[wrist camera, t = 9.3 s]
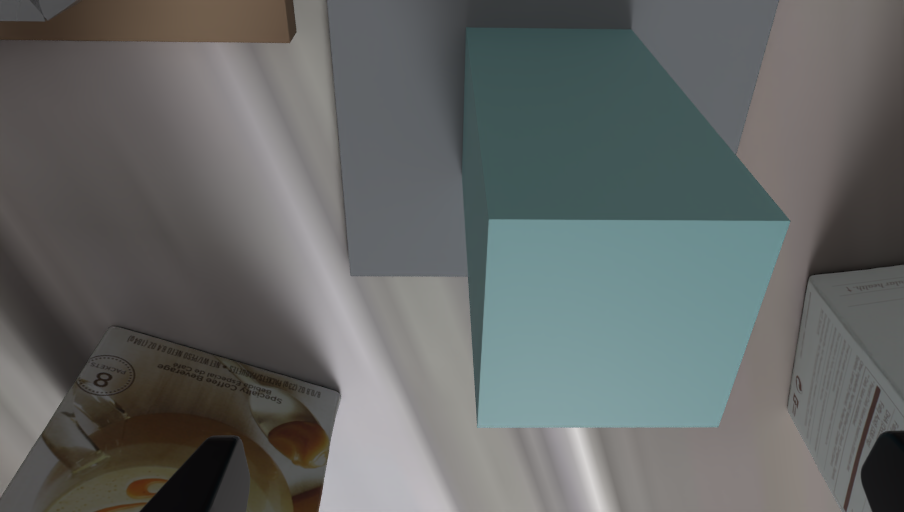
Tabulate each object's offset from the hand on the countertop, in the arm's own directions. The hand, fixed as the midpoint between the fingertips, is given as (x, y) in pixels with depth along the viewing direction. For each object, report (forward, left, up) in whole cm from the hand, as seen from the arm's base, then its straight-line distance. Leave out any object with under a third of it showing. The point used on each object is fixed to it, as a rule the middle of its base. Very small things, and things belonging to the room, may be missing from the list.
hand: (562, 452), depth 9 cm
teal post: (+1, 0, -12) cm, 12 cm away
